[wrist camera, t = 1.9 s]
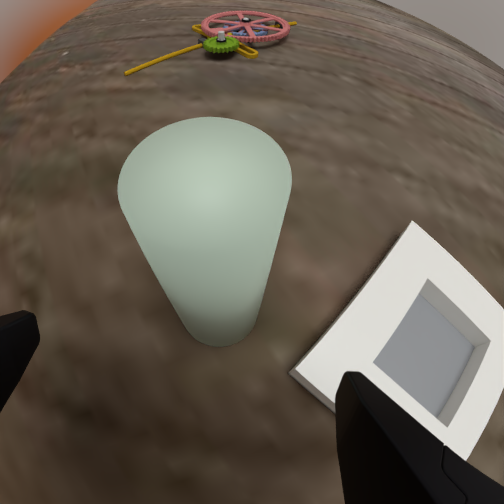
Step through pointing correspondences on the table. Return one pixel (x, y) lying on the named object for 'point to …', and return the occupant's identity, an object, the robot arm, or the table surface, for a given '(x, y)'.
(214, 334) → the green post
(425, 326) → the socket block
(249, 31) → the mechanical gear assembly
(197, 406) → the table surface
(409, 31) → the table surface
